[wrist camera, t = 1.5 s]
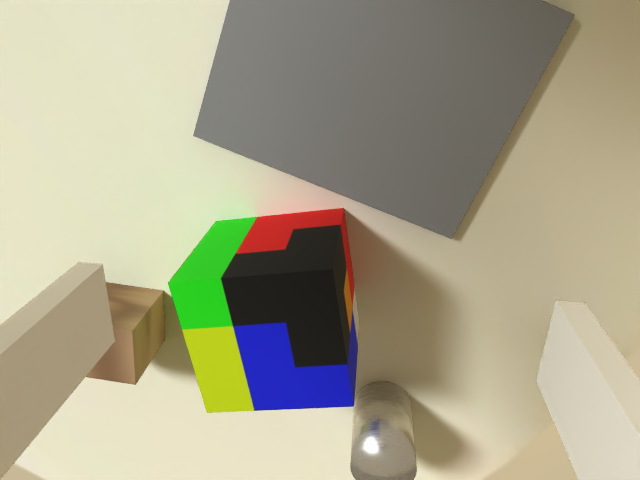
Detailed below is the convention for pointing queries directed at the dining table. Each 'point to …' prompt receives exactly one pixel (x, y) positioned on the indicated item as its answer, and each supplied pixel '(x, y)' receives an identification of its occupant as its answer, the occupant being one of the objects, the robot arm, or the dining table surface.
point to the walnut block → (131, 333)
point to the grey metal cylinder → (383, 434)
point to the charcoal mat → (379, 94)
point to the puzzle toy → (271, 313)
